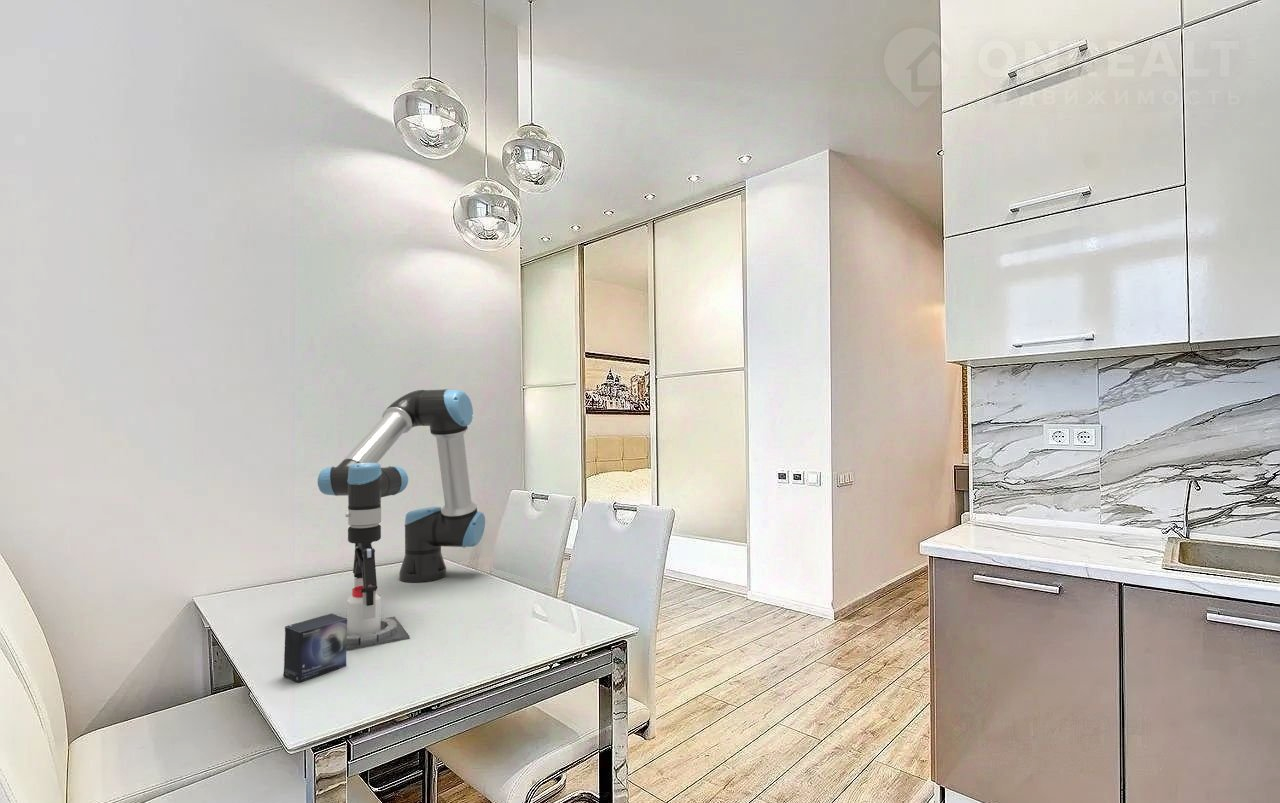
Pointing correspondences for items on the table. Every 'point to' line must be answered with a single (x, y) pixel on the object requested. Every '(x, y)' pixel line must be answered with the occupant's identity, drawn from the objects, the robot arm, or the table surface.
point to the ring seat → (379, 635)
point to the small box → (315, 647)
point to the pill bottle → (356, 614)
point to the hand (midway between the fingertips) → (364, 610)
